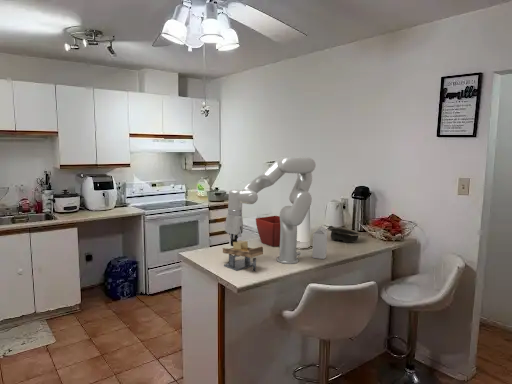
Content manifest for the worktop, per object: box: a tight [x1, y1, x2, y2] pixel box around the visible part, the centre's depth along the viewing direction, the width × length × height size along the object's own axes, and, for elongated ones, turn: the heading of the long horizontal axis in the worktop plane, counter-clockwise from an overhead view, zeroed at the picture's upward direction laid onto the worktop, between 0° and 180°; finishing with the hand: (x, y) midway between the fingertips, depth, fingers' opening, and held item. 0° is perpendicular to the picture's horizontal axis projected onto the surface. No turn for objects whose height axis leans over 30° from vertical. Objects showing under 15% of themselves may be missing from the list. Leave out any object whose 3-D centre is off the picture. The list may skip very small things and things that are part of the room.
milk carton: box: [311, 224, 328, 260], centre depth 213 cm, size 7×7×19 cm
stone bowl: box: [326, 225, 363, 244], centre depth 256 cm, size 25×25×9 cm
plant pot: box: [255, 215, 280, 248], centre depth 241 cm, size 19×19×17 cm
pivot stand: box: [223, 254, 257, 272], centre depth 192 cm, size 21×14×7 cm
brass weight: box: [232, 240, 249, 251], centre depth 192 cm, size 6×5×5 cm
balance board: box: [222, 246, 264, 259], centre depth 192 cm, size 22×9×4 cm, turn 45°
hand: (233, 245), depth 196 cm, fingers closed
